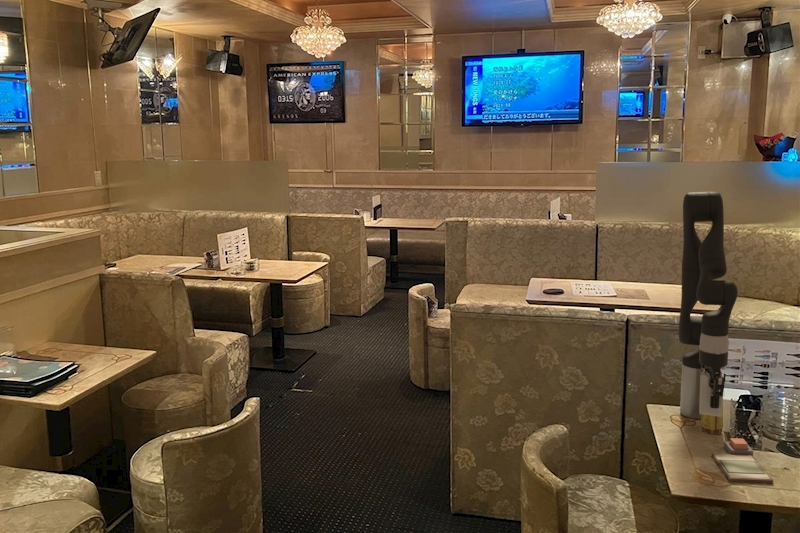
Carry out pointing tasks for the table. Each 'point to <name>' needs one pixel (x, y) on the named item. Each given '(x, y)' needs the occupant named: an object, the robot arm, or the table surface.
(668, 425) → the table surface
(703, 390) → the skincare box
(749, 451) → the button housing
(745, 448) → the button
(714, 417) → the sauce bottle
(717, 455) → the beige flat rectangular slab
